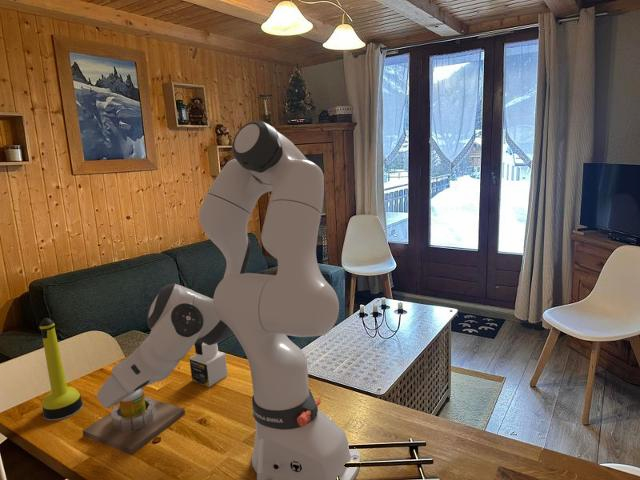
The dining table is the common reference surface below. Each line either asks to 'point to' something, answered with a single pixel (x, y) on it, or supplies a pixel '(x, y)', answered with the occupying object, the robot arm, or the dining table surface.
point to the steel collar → (134, 417)
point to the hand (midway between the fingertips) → (129, 391)
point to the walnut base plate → (134, 439)
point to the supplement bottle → (133, 404)
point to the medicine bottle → (207, 364)
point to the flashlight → (57, 379)
